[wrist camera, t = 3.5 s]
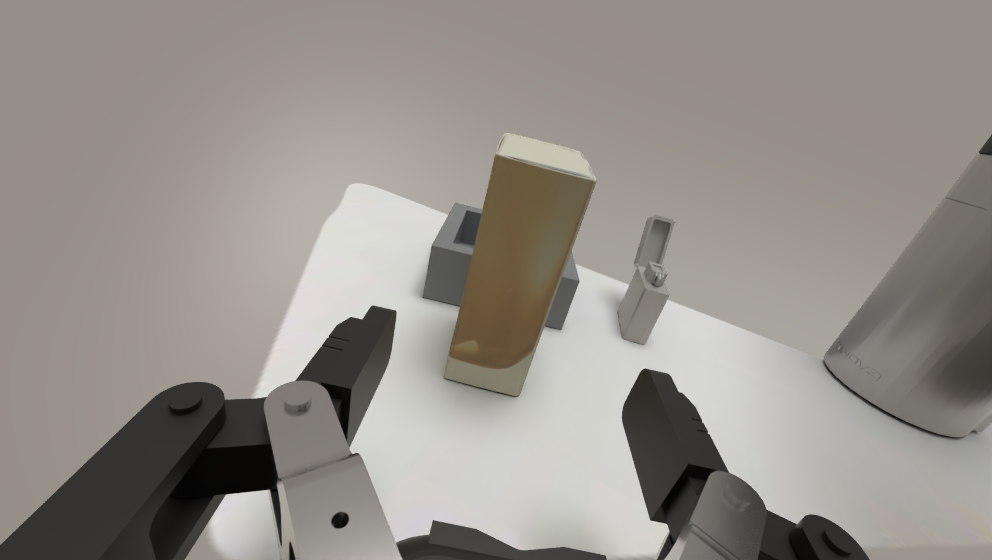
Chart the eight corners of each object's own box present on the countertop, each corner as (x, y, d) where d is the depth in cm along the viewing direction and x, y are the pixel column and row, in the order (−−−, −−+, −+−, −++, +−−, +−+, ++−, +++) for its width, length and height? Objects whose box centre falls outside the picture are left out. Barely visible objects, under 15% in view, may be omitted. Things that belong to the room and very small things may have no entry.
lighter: (645, 345, 29) (694, 246, 26) (622, 338, 30) (668, 239, 26) (633, 300, 36) (672, 216, 32) (614, 294, 36) (650, 210, 32)
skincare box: (460, 318, 27) (504, 129, 21) (523, 334, 27) (583, 150, 22) (440, 383, 21) (492, 147, 16) (520, 403, 21) (600, 175, 16)
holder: (552, 269, 38) (565, 229, 36) (561, 329, 29) (579, 280, 27) (447, 244, 37) (455, 202, 35) (422, 297, 28) (431, 245, 26)
